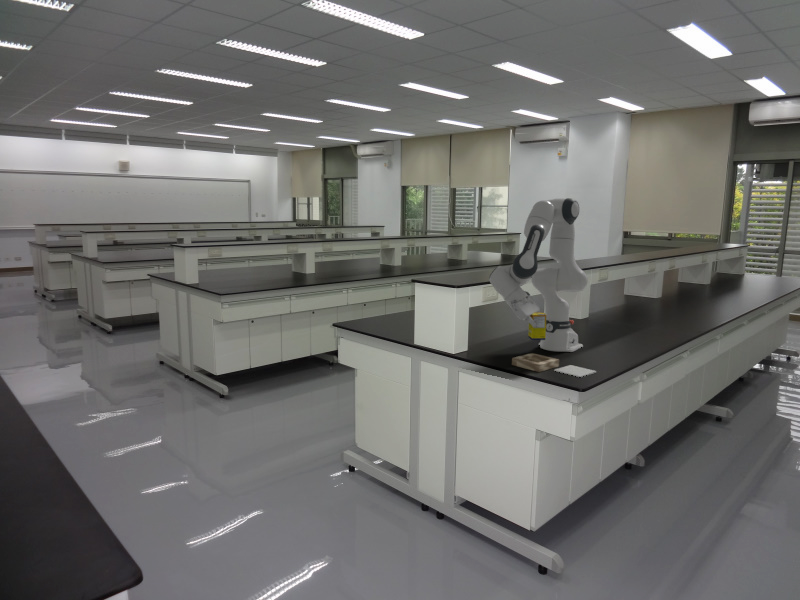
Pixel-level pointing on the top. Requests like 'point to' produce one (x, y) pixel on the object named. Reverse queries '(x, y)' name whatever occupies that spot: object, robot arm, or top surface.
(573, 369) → the grey pad
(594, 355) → the top surface
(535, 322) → the robot arm
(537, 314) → the supplement box
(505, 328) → the top surface
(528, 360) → the pocket holder
